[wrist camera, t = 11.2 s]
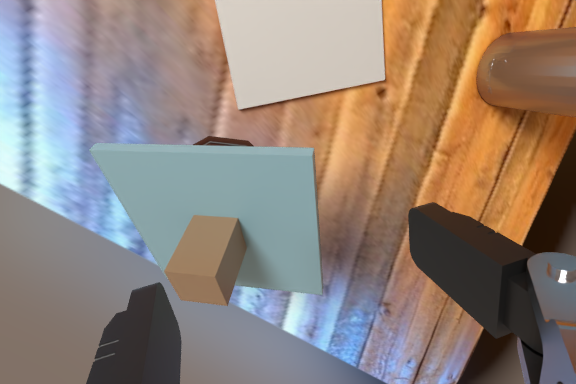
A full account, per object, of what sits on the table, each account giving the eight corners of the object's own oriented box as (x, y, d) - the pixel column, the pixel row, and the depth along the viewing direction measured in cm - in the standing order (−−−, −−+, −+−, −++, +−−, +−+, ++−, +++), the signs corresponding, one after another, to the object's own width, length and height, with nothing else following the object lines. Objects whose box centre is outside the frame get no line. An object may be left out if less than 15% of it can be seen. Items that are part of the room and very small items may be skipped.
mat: (373, -104, 35) (376, -107, 34) (382, 79, 42) (385, 79, 41) (196, -87, 32) (196, -90, 31) (237, 108, 39) (238, 109, 38)
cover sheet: (314, 147, 20) (298, 219, 16) (323, 286, 30) (314, 353, 26) (96, 143, 23) (36, 202, 19) (169, 270, 33) (140, 327, 29)
